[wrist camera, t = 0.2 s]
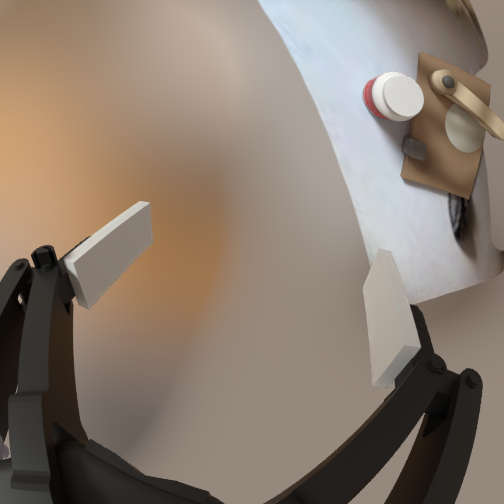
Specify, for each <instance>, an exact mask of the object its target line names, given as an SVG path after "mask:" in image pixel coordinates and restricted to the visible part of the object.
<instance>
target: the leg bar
mask: <svg viewBox="0 0 504 504" xmlns="http://www.w3.org/2000/svg"><path fill="white" fill-rule="evenodd" d="M428 81H429V85H430V87H431V89H432V90H433V91H434V92H435V93H437V94H440V95H445V96H446V97H447V98H449V99H450V100H451V101H453V102H454V103H455V104H457V105H458V106H459V107H460V108H461V109H463V110H464V111H465V112H466V113H468V114H469V115H470V116H471V117H472V118H473V119H474V120H476V121H477V122H478V123H479V124H480V125H481V126H482V127H483V128H484V129H485V130H487V131H488V132H489V133H490V134H491V135H492V136H493V137H495V138H497V139H500V140H504V123H503V122H502V120H500V118H498V116H496V114H495V113H494V112H493V111H491V109H489V108H488V107H487V106H486V105H485V104H484V103H483V102H482V101H481V100H480V99H479V98H478V97H476V96H475V95H474V94H473V93H472V92H471V91H470V90H468V89H467V88H466V87H465V86H464V85H462V84H461V83H460V82H458V81H457V78H456V77H455V75H454V74H453V73H452V72H450V71H449V70H445V69H443V70H438V71H433V72H432V73H430V75H429V78H428Z"/></svg>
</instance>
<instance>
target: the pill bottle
mask: <svg viewBox="0 0 504 504" xmlns="http://www.w3.org/2000/svg"><path fill="white" fill-rule="evenodd" d="M362 98H363V102H364V104H365V106H366V108H367V109H368V110H369V111H370V112H371V113H372V114H374V115H375V116H378V117H381V118H385V119H389V120H394V121H406V120H409V119H411V118H413V117H414V116H415V115H416V114H418V113H419V112H420V111H421V109H422V107H423V104H424V96H423V92H422V90H421V88H420V86H419V85H418V84H417V83H416V82H415V81H414V80H413V79H411V78H409V77H407V76H406V75H404V74H401V73H398V72H387V73H384V74H381V75H380V76H377V77H375V78H373V79H371V80H369V81H368V82H367V83H366V84H365V86H364V88H363V91H362Z"/></svg>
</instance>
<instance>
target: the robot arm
mask: <svg viewBox="0 0 504 504" xmlns="http://www.w3.org/2000/svg"><path fill="white" fill-rule="evenodd" d="M152 243H153V234H152V222H151V208H150V203H149V202H142V201H139V202H138V203H136V204H135V205H133V206H132V207H130V208H129V209H128V210H126V211H125V212H123V213H122V214H120V215H119V216H118V217H116V218H115V219H114V220H112V221H111V222H109V223H108V224H107V225H105V226H104V227H103V228H101V229H100V230H99V231H97V232H96V233H95V234H93V235H92V236H89V237H87V238H86V239H84V240H83V241H82V242H80V243H79V244H78V245H76V246H75V247H74V248H73V249H71V250H70V251H69V252H68V253H66V254H65V255H64V256H63V257H62V258H60V259H59V260H57V257H56V254H55V250H54V247H53V246H50V245H45V246H41V247H39V248H37V249H36V250H35V251H33V253H32V254H31V257H32V260H33V263H34V265H35V267H31V266H30V264H29V261H28V260H27V259H25V258H23V259H18V260H16V261H15V262H14V263H13V264H12V265H11V266H10V267H9V269H8V270H7V272H6V274H5V275H4V277H3V279H2V280H1V282H0V504H224V503H223V502H221V501H220V500H218V499H217V498H215V497H213V496H211V495H210V493H209V492H208V491H205V490H202V489H198V488H195V487H192V486H189V485H186V484H184V483H181V482H178V481H174V480H168V479H162V478H156V477H150V476H146V475H144V474H143V473H142V472H140V471H139V470H138V469H136V468H135V467H134V466H132V465H130V464H129V463H128V462H126V461H125V460H124V459H122V458H121V457H120V456H118V455H117V454H116V453H114V452H112V451H110V450H109V449H107V448H105V447H103V446H102V445H100V444H98V443H96V442H95V441H93V440H91V439H90V440H88V437H87V435H86V432H85V431H84V429H83V427H82V425H81V421H80V416H79V409H78V401H77V393H76V384H75V372H74V356H73V302H72V299H73V298H74V297H75V296H76V299H77V301H78V304H79V305H80V306H82V307H85V308H87V309H90V308H91V307H92V306H93V305H94V304H95V303H96V302H97V301H98V299H99V298H100V297H101V296H102V295H103V294H104V293H105V292H106V290H108V288H109V287H110V286H111V285H112V284H113V283H114V282H115V281H116V280H117V279H118V278H119V277H120V276H121V275H122V274H123V273H124V271H125V270H126V269H127V268H128V267H129V266H130V265H131V264H132V263H133V262H134V261H135V260H136V259H137V258H138V257H139V256H140V255H141V254H142V253H143V252H144V251H145V250H146V249H147V248H148V247H149V246H150V245H151V244H152ZM363 294H364V301H365V309H366V317H367V325H368V335H369V346H370V358H371V374H372V386H374V387H385V388H388V387H389V386H390V385H391V383H392V382H393V381H394V380H395V389H394V390H393V391H392V392H391V393H390V394H389V395H388V396H387V397H386V398H385V399H384V402H383V403H382V404H381V405H380V406H379V408H377V410H376V411H375V412H374V413H373V414H372V415H371V416H370V417H369V418H368V419H367V420H366V421H365V422H364V424H363V425H362V426H361V427H360V428H359V429H358V430H357V431H356V432H355V433H354V434H353V435H352V436H350V437H349V438H348V439H347V440H346V441H345V442H344V443H343V444H342V445H341V446H340V447H339V448H338V449H337V450H335V451H334V452H333V453H332V454H331V455H330V456H329V457H327V459H325V460H324V461H323V462H322V463H320V464H319V465H318V466H317V467H316V468H314V469H313V470H312V471H311V472H309V473H308V474H307V475H305V476H304V477H303V478H301V479H300V480H299V481H298V482H296V483H295V484H293V485H292V486H290V487H289V488H288V489H286V490H285V491H283V492H282V493H280V494H279V495H277V496H276V497H274V498H272V499H271V500H269V501H267V502H265V503H264V504H348V503H349V502H350V501H351V500H352V499H353V498H354V497H355V496H356V495H357V494H358V493H359V492H360V491H361V490H362V489H363V488H364V487H365V486H366V485H367V484H368V483H369V482H370V481H371V480H372V479H373V478H374V477H375V476H376V474H377V473H378V472H379V471H380V470H381V469H382V468H383V467H384V465H385V464H386V463H387V462H388V461H389V459H390V458H391V457H392V456H393V455H394V453H395V452H396V451H397V450H398V448H399V447H400V446H401V445H402V443H403V442H404V441H405V439H406V438H407V437H408V435H409V434H410V432H411V431H412V429H413V428H414V427H415V425H416V424H417V422H418V421H419V419H420V418H421V416H422V415H423V413H425V415H424V418H423V421H422V424H421V426H420V429H419V432H418V435H417V437H416V440H415V442H414V445H413V447H412V449H411V452H410V454H409V457H408V459H407V461H406V463H405V465H404V467H403V469H402V471H401V473H400V475H399V477H398V479H397V482H396V483H395V485H394V487H393V489H392V491H391V493H390V494H389V496H388V498H387V500H386V501H385V503H384V504H455V501H456V498H457V496H458V493H459V491H460V488H461V485H462V482H463V479H464V476H465V473H466V470H467V466H468V463H469V459H470V455H471V451H472V448H473V443H474V439H475V434H476V429H477V424H478V418H479V412H480V405H481V397H482V388H483V384H482V379H481V377H480V375H479V374H478V373H477V372H476V371H475V370H473V369H470V368H467V369H465V370H464V371H462V373H461V374H460V375H459V374H456V373H454V372H452V371H449V370H447V367H446V364H445V362H444V360H443V359H442V358H441V357H440V356H438V355H437V354H435V353H434V350H433V346H432V343H431V339H430V336H429V332H428V331H427V325H426V324H425V319H424V316H423V313H422V312H421V311H420V310H419V308H418V307H417V306H415V305H410V304H409V302H408V298H407V295H406V292H405V289H404V286H403V283H402V280H401V277H400V274H399V271H398V269H397V266H396V263H395V260H394V258H393V255H392V253H391V251H388V250H383V249H378V251H377V254H376V257H375V259H374V262H373V264H372V267H371V269H370V272H369V274H368V277H367V279H366V282H365V284H364V286H363ZM19 295H20V297H21V299H22V302H21V304H20V303H19V301H18V296H19ZM17 385H18V390H17V393H16V389H17ZM15 393H16V394H15ZM8 428H9V441H10V450H11V458H9V459H4V460H3V458H7V457H8V455H9V449H8V447H7V446H6V445H5V444H4V441H5V438H6V435H7V432H8Z"/></svg>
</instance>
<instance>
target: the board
mask: <svg viewBox="0 0 504 504" xmlns="http://www.w3.org/2000/svg"><path fill="white" fill-rule="evenodd" d="M443 69H445V70H449V71H450V72H452V73H453V74H454V75H455V77H456V78H457V81H458V82H460V83H461V84H462V85H464V86H465V87H466V88H467V89H468V90H470V91H471V92H472V93H473V94H474V95H475V96H476V97H478V98H479V99H480V100H481V101H482V102H483V103H484V104H485V105H486V106H487V107H488V108H489V101H490V89H491V85H490V84H488V83H486V82H484V81H482V80H481V79H479V78H477V77H476V76H474V75H472V74H470V73H468V72H466V71H464V70H462V69H460V68H458V67H456V66H454V65H452V64H450V63H447V62H445V61H443V60H441V59H438V58H436V57H433V56H431V55H429V54H426V53H423V52H421V53H419V55H418V70H417V81H416V83H417V84H418V85H419V86H420V88H421V90H422V92H423V96H424V104H423V107H422V109H421V111H420V112H419V113H418V114H416V115H415V116H414V117H413V118H412V120H411V126H410V132H409V137H407V136H404V141H403V146H402V151H403V152H404V153H405V157H404V162H403V166H402V171H401V175H400V176H401V177H402V178H404V179H408V180H411V181H415V182H418V183H421V184H425V185H428V186H431V187H434V188H437V189H440V190H443V191H446V192H449V193H452V194H455V195H458V196H461V197H464V198H466V199H469V198H470V195H471V191H472V188H473V184H474V181H475V177H476V173H477V169H478V165H479V161H480V157H481V152H482V147H483V142H484V138H485V131H486V130H485V129H484V128H483V127H482V126H481V125H480V124H479V123H478V122H477V121H476V120H474V119H473V118H472V117H471V116H470V115H469V114H468V113H466V112H465V111H464V110H463V109H461V108H460V107H459V106H458V105H457V104H455V103H454V102H453V101H451V100H450V99H449V98H447V97H446V96H445V95H440V94H437V93H435V92H434V91H433V90H432V89H431V87H430V85H429V81H428V78H429V75H430V73H432V72H433V71H438V70H443Z"/></svg>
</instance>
